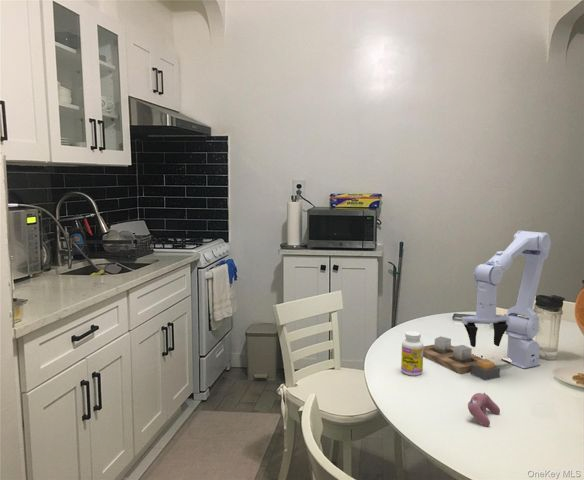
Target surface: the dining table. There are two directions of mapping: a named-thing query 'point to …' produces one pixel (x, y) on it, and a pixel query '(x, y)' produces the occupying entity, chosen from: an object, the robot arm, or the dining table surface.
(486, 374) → the button housing
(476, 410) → the video game controller
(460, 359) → the block
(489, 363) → the button
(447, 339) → the steel billet
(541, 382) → the dining table surface
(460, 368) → the brown board with cutouts
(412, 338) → the supplement bottle
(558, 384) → the dining table surface
